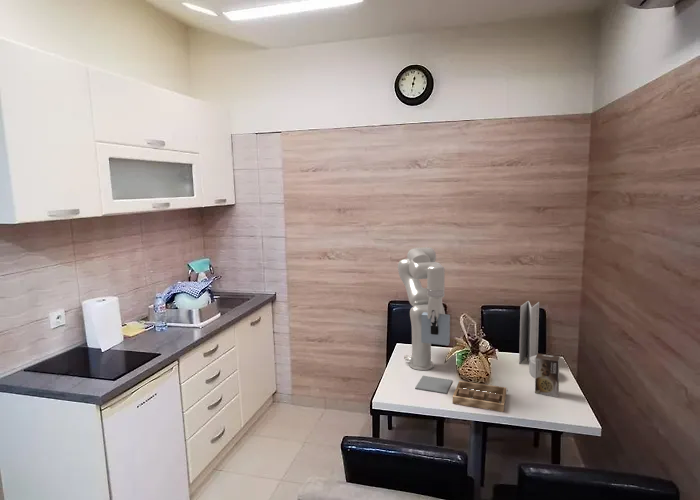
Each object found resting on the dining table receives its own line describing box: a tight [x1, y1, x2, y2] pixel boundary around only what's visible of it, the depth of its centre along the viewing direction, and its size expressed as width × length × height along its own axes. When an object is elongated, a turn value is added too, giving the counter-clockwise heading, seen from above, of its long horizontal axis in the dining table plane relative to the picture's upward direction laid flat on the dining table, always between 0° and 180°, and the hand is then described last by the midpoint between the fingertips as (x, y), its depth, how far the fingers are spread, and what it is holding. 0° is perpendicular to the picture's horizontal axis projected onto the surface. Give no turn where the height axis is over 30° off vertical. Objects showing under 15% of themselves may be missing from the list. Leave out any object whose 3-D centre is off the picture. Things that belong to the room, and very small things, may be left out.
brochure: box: [518, 300, 540, 364], centre depth 218 cm, size 14×6×30 cm, turn 143°
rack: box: [452, 380, 507, 413], centre depth 179 cm, size 20×16×3 cm
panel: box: [421, 312, 451, 346], centre depth 190 cm, size 12×4×13 cm, turn 67°
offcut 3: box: [487, 393, 501, 403], centre depth 173 cm, size 4×4×4 cm
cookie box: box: [534, 352, 560, 398], centre depth 182 cm, size 9×6×16 cm
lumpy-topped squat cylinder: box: [528, 355, 537, 379], centre depth 200 cm, size 10×13×9 cm
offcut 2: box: [472, 391, 486, 401], centre depth 176 cm, size 4×4×4 cm
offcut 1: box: [458, 389, 471, 398], centre depth 178 cm, size 4×4×4 cm
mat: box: [414, 375, 453, 395], centre depth 193 cm, size 14×14×1 cm
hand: (435, 332), depth 190 cm, fingers closed on panel, 4 cm apart
